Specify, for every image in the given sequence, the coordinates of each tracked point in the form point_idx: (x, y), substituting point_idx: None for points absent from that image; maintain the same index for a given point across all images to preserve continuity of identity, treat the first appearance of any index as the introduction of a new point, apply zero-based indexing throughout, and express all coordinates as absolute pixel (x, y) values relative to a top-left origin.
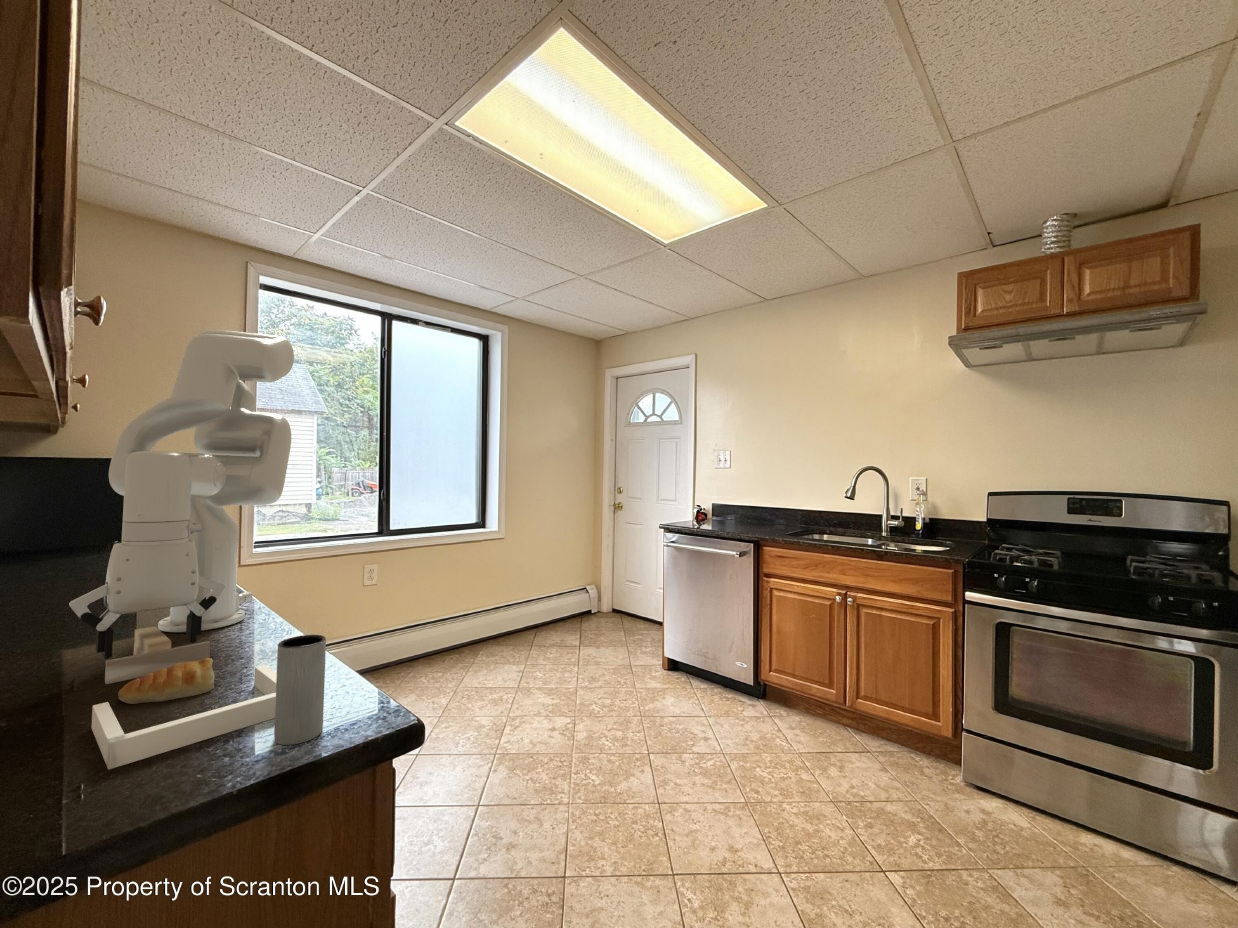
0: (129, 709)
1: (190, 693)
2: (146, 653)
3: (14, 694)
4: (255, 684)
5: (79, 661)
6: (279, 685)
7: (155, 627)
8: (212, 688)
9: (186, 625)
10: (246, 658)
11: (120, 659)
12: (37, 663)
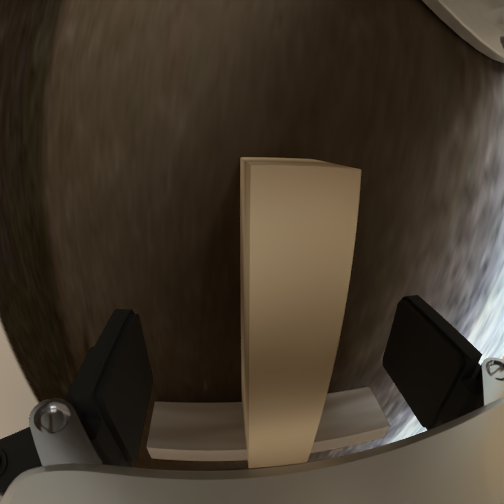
0: None
1: None
2: (239, 454)
3: (11, 341)
4: None
5: (80, 113)
6: None
7: (352, 212)
8: None
9: (430, 332)
10: (410, 409)
11: (179, 458)
12: (8, 60)
